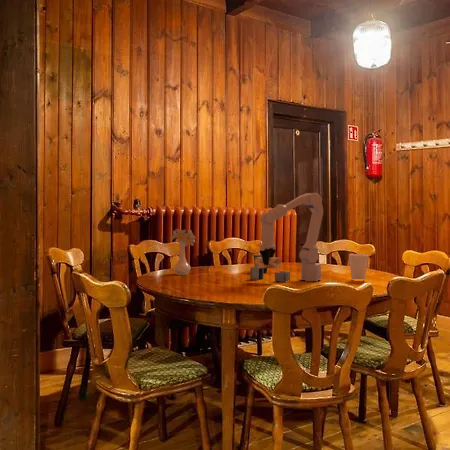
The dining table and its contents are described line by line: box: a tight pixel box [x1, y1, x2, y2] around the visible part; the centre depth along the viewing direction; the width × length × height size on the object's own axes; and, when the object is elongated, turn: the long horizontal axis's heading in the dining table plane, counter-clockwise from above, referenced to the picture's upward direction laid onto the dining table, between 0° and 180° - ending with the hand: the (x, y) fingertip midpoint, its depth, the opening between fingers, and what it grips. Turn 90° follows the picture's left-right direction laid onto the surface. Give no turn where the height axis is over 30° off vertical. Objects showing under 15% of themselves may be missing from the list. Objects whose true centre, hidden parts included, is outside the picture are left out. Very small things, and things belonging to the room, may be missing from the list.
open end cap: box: [274, 270, 291, 283], centre depth 238 cm, size 5×7×5 cm
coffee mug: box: [253, 253, 269, 274], centre depth 270 cm, size 12×9×10 cm
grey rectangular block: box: [249, 265, 264, 281], centre depth 244 cm, size 4×7×6 cm, turn 151°
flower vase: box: [169, 228, 197, 276], centre depth 261 cm, size 13×18×25 cm
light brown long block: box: [254, 256, 281, 270], centre depth 234 cm, size 12×4×5 cm, turn 61°
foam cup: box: [348, 253, 369, 280], centre depth 241 cm, size 10×9×13 cm
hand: (267, 264), depth 234 cm, fingers closed on light brown long block, 3 cm apart
